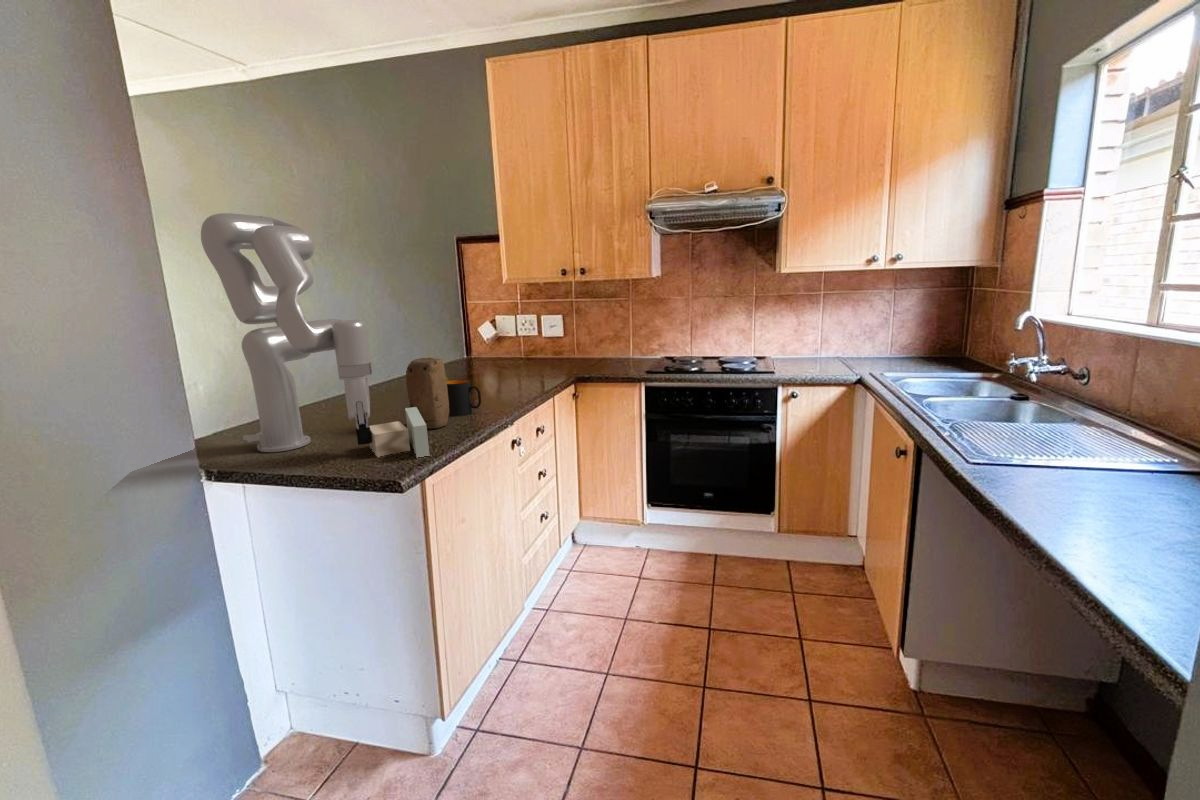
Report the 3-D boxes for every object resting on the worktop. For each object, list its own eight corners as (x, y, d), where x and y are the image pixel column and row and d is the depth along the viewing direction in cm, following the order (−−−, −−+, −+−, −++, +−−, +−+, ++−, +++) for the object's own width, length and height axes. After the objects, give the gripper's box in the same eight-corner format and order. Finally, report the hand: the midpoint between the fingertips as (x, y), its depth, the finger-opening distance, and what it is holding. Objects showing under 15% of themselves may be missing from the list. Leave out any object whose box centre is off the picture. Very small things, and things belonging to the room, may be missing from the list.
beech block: (377, 458, 138) (374, 434, 137) (370, 448, 147) (367, 426, 145) (410, 452, 142) (407, 429, 141) (401, 442, 151) (399, 421, 149)
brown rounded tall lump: (453, 424, 167) (447, 357, 163) (437, 430, 161) (430, 361, 156) (423, 421, 171) (416, 356, 167) (407, 428, 164) (399, 360, 160)
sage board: (417, 458, 136) (413, 426, 135) (408, 436, 156) (405, 408, 154) (429, 456, 137) (426, 424, 136) (419, 434, 157) (416, 406, 155)
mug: (477, 416, 175) (474, 384, 173) (441, 416, 178) (438, 384, 175) (487, 410, 183) (484, 379, 181) (452, 410, 185) (449, 379, 183)
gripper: (339, 368, 142) (348, 438, 147) (337, 377, 129) (348, 453, 133) (370, 365, 145) (379, 434, 149) (372, 374, 132) (382, 448, 136)
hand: (364, 443), depth 141 cm, fingers closed
